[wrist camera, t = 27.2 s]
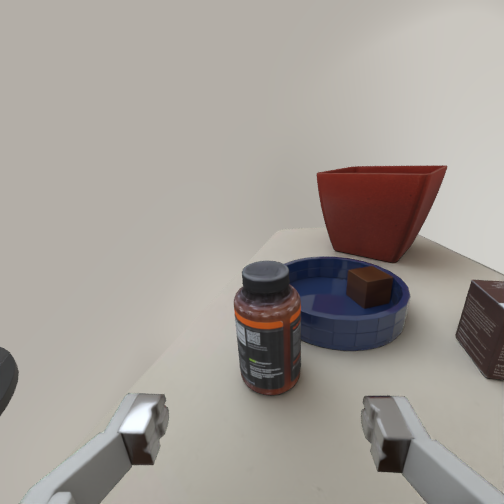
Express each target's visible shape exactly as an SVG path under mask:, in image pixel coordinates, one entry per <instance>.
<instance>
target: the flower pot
mask: <svg viewBox="0 0 504 504" xmlns="http://www.w3.org/2000/svg"><path fill="white" fill-rule="evenodd" d="M446 170H447V166H362V167H361V166H360V167H359V166H358V167H348V168H342V169H336V170H331V171H325V172H319V173H317V183H318V191H319V197H320V202H321V208H322V212H323V216H324V220H325V224H326V228H327V231H328V234H329V238H330V241H331V243H332V246H333V249H334V250H336V251H340V252H345V253H350V254H354V255H359V256H364V257H368V258H373V259H378V260H382V261H387V262H397V261H398V260H399V259H400V258H401V256H402V255H403V254H404V253H405V252H406V251H407V250H408V248H409V247H410V246H411V245H412V243H413V241H414V240H415V238H416V236H417V235H418V233H419V231H420V229H421V227H422V225H423V223H424V222H425V220H426V218H427V216H428V213H429V211H430V209H431V207H432V205H433V203H434V200H435V198H436V196H437V193H438V191H439V188H440V186H441V183H442V180H443V178H444V175H445V173H446Z"/></svg>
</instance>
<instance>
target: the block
mask: <svg viewBox="0 0 504 504" xmlns="http://www.w3.org/2000/svg"><path fill="white" fill-rule="evenodd" d="M392 283H393V277H392V276H390V275H389V274H387V273H385V272H383V271H381V270H379V269H377V268H375V267H374V266H368V267H362V268H357V269H351V270H348V279H347V290H346V295H347V296H349V297H350V298H351V299H352V300H354V301H355V302H356V303H357V304H359V305H360V306H361V307H362V308H364V309H366V308H370V307H375V306H379V305H384V304H388V303H389V301H390V295H391V289H392Z"/></svg>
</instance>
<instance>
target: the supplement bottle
mask: <svg viewBox="0 0 504 504" xmlns="http://www.w3.org/2000/svg"><path fill="white" fill-rule="evenodd" d="M242 278H243V283H242V284H243V287H242V288H240V289H239V291H238V292H237V293H236V295H235V298H234V310H235V321H236V331H237V341H238V351H239V361H240V369H241V376H242V378H243V380H244V382H245V384H246V385H247V386H248V387H249V388H251V389H252V390H253V391H255V392H257V393H261V394H265V395H277V394H281V393H284V392H286V391H288V390H289V389H291V388H292V387H293V386H294V385H295V384H296V382H297V381H298V379H299V376H300V367H301V300H300V296H299V294H298V292H297V290H296V289H295V288H294V287H293V286H292V285H290V284H289V283H290V280H289V269H288V267H287V266H286V265H284V264H282V263H280V262H276V261H260V262H255V263H252V264H249V265H247V266H246V267H245V268H244V269H243V271H242Z"/></svg>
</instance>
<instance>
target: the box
mask: <svg viewBox="0 0 504 504" xmlns="http://www.w3.org/2000/svg"><path fill="white" fill-rule="evenodd" d="M456 338H457V340H458V341H459V342H460V344H461V345H462V346H463V347H464V349H465V350H466V351H467V353H468V354H469V355H470V357H471V358H472V359H473V361H474V362H475V364H476V365H477V366H478V368H479V370H480V371H481V373H482V374H483V375H484V376H485V377H486V378H493V379H501V380H504V282H502V281H484V280H471V284H470V288H469V291H468V294H467V297H466V301H465V304H464V308H463V311H462V315H461V318H460V322H459V325H458V329H457V332H456Z"/></svg>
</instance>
